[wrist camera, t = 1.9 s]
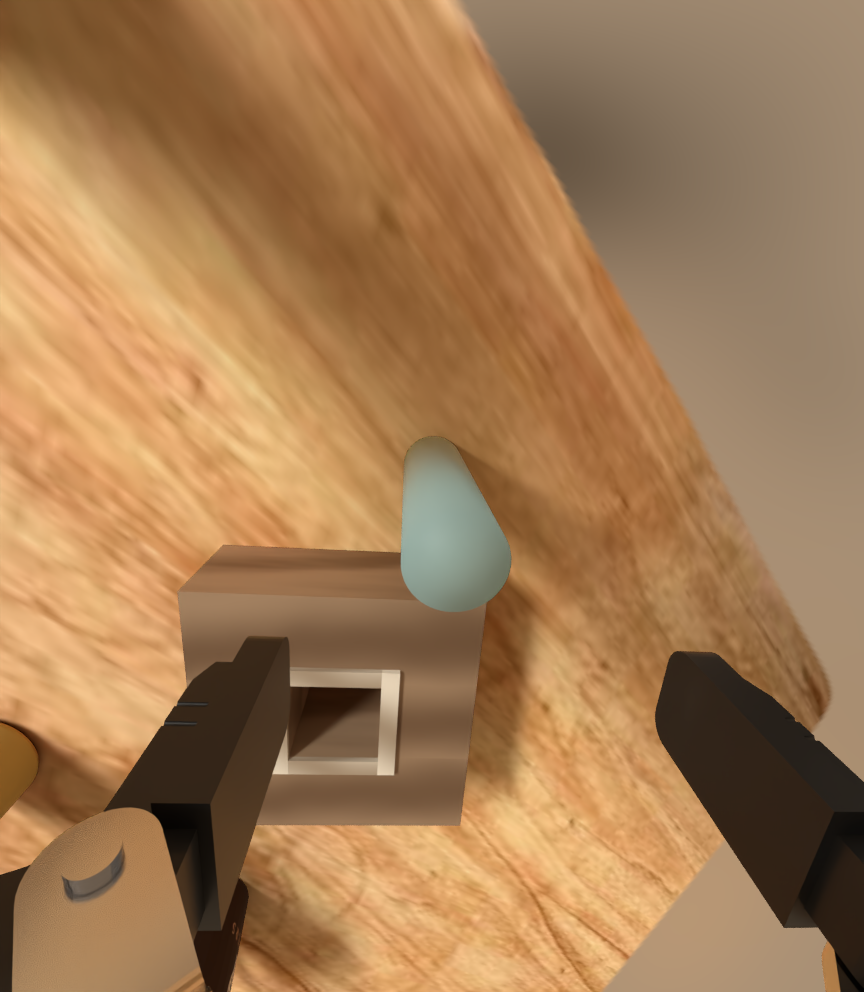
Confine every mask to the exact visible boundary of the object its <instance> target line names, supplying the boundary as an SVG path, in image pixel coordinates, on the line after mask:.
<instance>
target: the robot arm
mask: <svg viewBox="0 0 864 992" xmlns="http://www.w3.org/2000/svg"><path fill="white" fill-rule="evenodd" d="M289 713H290V648H289V640H288V638H287V637H275V636H248V637H247V638H246V639H245V641H244V643H243V644H242V646H241V648H240V650H239V651H238V653H237V655H236V656H235V658H234V660H233V662H215V663H213V664H212V665H211V666H210V667H208V668H207V669H206V670H204V671H203V672H202V673H200V674H199V675H198V676H197V677H195V678H194V679H193V680H192V681H191V683H190V684H189V686H188V687H187V689H186V690H185V691H184V693H183V694H182V696H181V697H180V699H179V700H178V703H177V706H174V708H173V709H172V711H171V712H170V714H169V715H168V717H167V718H166V720H165V723H164V726H161V727H160V729H159V730H158V732H157V733H156V735H155V736H154V738H153V739H152V741H151V742H150V744H149V745H148V747H147V748H146V750H145V751H144V752H143V754H142V755H141V757H140V758H139V760H138V761H137V763H136V764H135V766H134V767H133V769H132V770H131V772H130V773H129V775H128V776H127V778H126V779H125V781H124V782H123V784H122V785H121V787H120V788H119V790H118V791H117V793H116V794H115V796H114V797H113V799H112V800H111V802H110V803H109V805H108V806H107V807H106V809H105V810H104V811H103V812H102V813H99V814H97V815H94V816H92V817H89V818H87V819H85V820H83V821H81V822H80V823H78V824H76V825H74V826H73V827H71V828H70V829H68V830H67V831H65V832H64V833H62V834H61V835H60V836H59V837H57V838H56V839H55V840H54V841H52V842H51V843H50V844H49V845H48V846H47V847H46V848H45V849H44V850H43V851H42V852H41V853H40V854H39V855H38V857H37V858H36V859H35V860H34V861H33V863H32V864H31V865H29V866H27V867H24V868H21V869H18V870H15V871H12V872H8V873H5V874H2V875H0V992H212V990H211V988H210V987H209V986H208V987H206V985H205V982H204V979H203V976H202V973H201V969H200V966H199V962H198V958H197V955H196V951H195V947H194V944H193V941H194V939H195V936H196V933H197V931H221V930H222V927H223V924H224V921H225V918H226V915H227V912H228V909H229V906H230V903H231V899H232V896H233V893H234V890H235V887H236V884H237V881H238V878H239V875H240V872H241V869H242V866H243V863H244V860H245V857H246V854H247V851H248V847H249V844H250V841H251V838H252V835H253V832H254V829H255V826H256V823H257V820H258V817H259V814H260V811H261V808H262V805H263V802H264V798H265V795H266V792H267V789H268V786H269V783H270V780H271V777H272V774H273V771H274V768H275V765H276V762H277V759H278V756H279V753H280V749H281V746H282V743H283V740H284V737H285V734H286V730H287V726H288V720H289ZM655 722H656V728H657V732H658V735H659V738H660V740H661V742H662V744H663V745H664V747H665V748H666V750H667V752H668V753H669V755H670V756H671V758H672V759H673V761H674V762H675V764H676V765H677V767H678V768H679V770H680V771H681V773H682V774H683V776H684V777H685V779H686V780H687V782H688V783H689V785H690V786H691V788H692V789H693V791H694V792H695V794H696V795H697V797H698V798H699V800H700V801H701V803H702V805H703V806H704V808H705V809H706V811H707V812H708V814H709V815H710V817H711V818H712V820H713V821H714V823H715V824H716V826H717V827H718V829H719V830H720V832H721V833H722V835H723V836H724V838H725V839H726V841H727V842H728V844H729V845H730V847H731V848H732V850H733V851H734V853H735V854H736V856H737V858H738V859H739V861H740V862H741V864H742V865H743V867H744V868H745V869H746V871H747V873H748V874H749V876H750V877H751V879H752V880H753V882H754V883H755V885H756V886H757V888H758V889H759V891H760V892H761V894H762V895H763V897H764V898H765V900H766V901H767V903H768V904H769V906H770V907H771V909H772V911H773V912H774V913H775V915H776V917H777V918H778V920H779V921H780V923H781V924H782V926H783V927H784V928H809V927H810V928H811V927H818V928H819V929H820V930H821V932H822V933H823V935H824V936H825V938H826V939H827V943H826V945H825V947H824V949H823V952H822V966H823V974H824V982H825V989H826V992H864V782H863V781H862V780H861V779H860V778H859V777H858V776H857V775H856V774H854V773H853V772H852V771H851V770H850V769H849V768H848V767H847V766H846V765H845V764H844V763H843V762H842V761H841V760H839V759H838V758H837V757H836V756H835V755H834V754H833V753H832V752H831V751H830V750H829V749H828V748H827V747H825V746H824V745H823V744H822V743H821V742H820V741H816V740H815V739H814V735H813V734H811V733H810V732H809V731H808V730H807V729H806V728H805V727H804V726H803V725H802V724H801V723H800V722H795V718H794V717H793V716H792V715H791V714H790V713H789V712H788V711H787V710H786V709H785V708H783V707H782V706H781V705H780V704H779V703H778V702H777V701H776V700H775V699H774V698H773V697H772V696H770V695H768V694H767V693H765V692H764V691H762V690H761V689H759V688H757V687H756V686H754V685H753V684H751V683H749V682H748V681H746V680H745V679H743V678H742V677H741V676H740V675H739V674H738V673H737V672H736V671H735V670H734V669H733V668H732V667H731V666H729V665H728V664H727V663H726V662H725V661H724V660H723V659H722V658H721V657H720V656H719V655H717V654H715V653H712V652H686V651H677V652H674V653H673V654H672V655H671V657H670V658H669V661H668V665H667V669H666V673H665V677H664V680H663V684H662V688H661V692H660V696H659V699H658V703H657V707H656V712H655Z"/></svg>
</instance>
